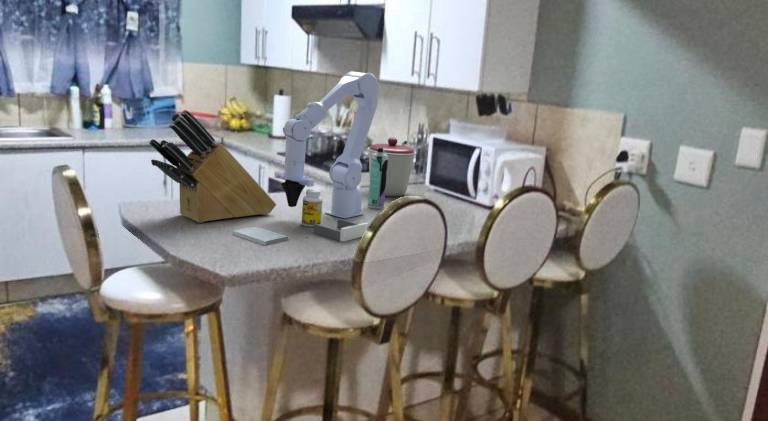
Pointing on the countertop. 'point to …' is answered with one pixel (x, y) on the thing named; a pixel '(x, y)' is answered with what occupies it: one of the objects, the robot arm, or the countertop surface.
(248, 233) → the hard drive
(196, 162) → the knife block
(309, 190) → the supplement bottle
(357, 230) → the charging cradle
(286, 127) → the robot arm
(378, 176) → the spray can
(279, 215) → the countertop surface
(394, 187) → the canister
